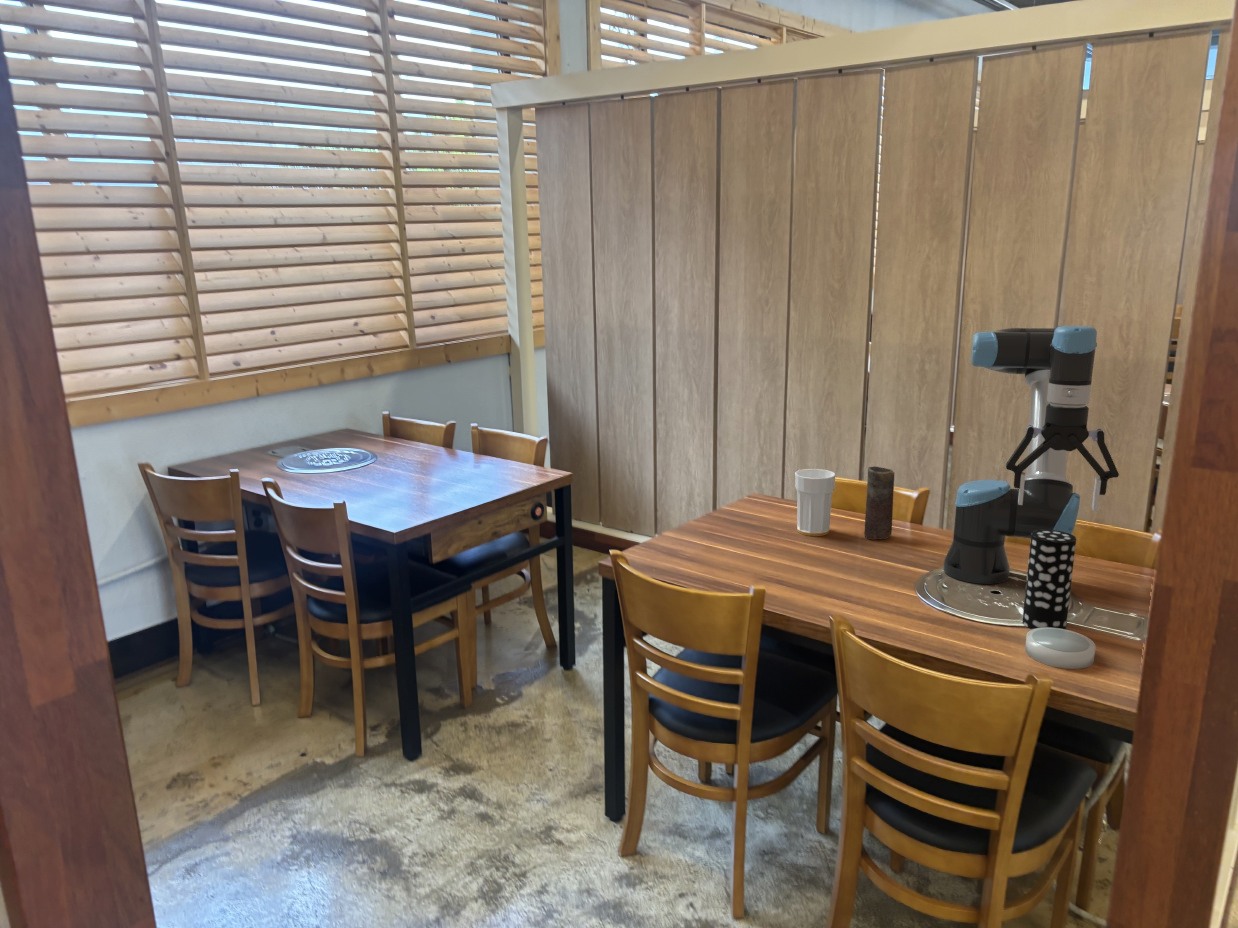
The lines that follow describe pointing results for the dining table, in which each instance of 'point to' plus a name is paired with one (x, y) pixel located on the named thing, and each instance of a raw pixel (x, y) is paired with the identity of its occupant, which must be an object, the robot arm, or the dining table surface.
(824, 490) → the cup
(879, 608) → the dining table surface
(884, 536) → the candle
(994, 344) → the robot arm
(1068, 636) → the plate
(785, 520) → the dining table surface
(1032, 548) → the spotted tube
